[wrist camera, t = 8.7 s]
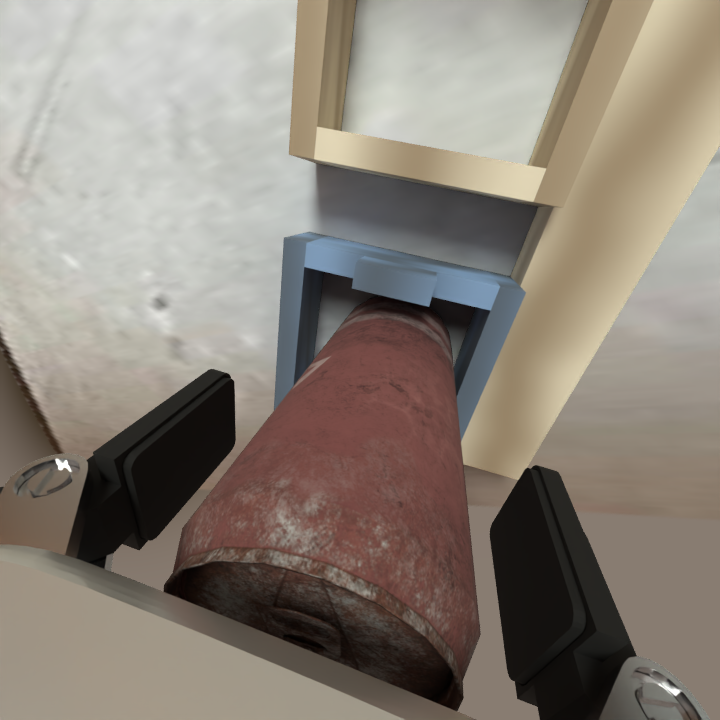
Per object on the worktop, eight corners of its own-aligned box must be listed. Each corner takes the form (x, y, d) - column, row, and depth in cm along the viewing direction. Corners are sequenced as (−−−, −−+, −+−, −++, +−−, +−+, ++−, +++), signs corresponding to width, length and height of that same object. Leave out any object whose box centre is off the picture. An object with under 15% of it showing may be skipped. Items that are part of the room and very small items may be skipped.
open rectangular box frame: (862, -180, 8) (1244, -523, 4) (511, 454, 19) (531, 520, 15) (350, -211, 10) (292, -488, 6) (294, 393, 21) (260, 438, 17)
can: (378, 409, 20) (283, 745, 8) (321, 324, 18) (79, 582, 6) (471, 372, 17) (556, 776, 5) (416, 270, 16) (346, 514, 3)
